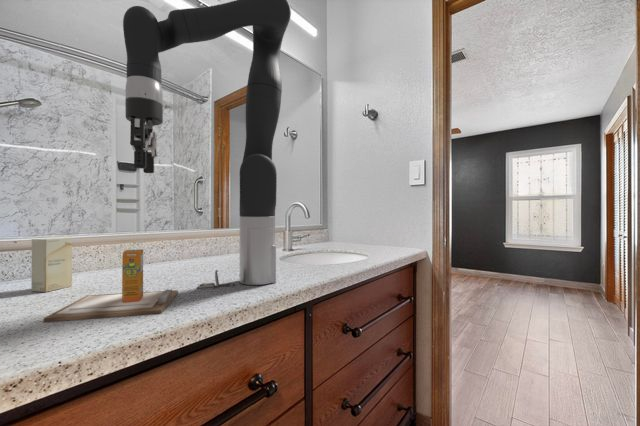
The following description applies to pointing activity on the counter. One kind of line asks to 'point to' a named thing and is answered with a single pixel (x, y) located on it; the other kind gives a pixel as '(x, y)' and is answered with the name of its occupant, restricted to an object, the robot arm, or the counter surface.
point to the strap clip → (212, 285)
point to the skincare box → (51, 264)
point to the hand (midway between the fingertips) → (144, 170)
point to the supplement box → (132, 275)
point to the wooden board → (113, 306)
